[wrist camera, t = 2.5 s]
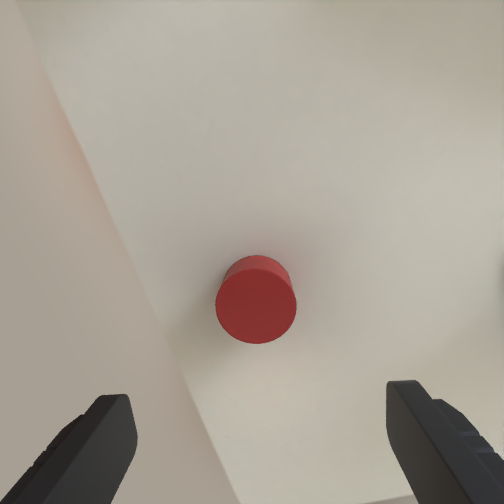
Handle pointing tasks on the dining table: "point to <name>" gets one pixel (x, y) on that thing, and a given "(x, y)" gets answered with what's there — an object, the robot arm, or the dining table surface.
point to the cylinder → (256, 300)
